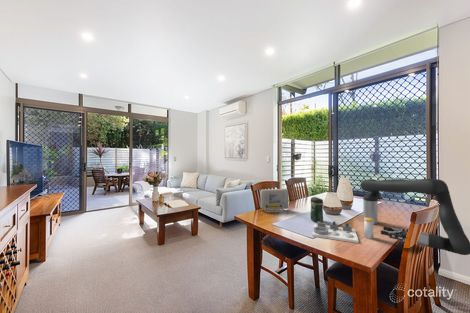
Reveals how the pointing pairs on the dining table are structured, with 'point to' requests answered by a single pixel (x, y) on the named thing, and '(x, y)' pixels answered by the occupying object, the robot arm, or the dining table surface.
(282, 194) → the network device
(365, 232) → the post
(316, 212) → the coffee jar
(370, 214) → the robot arm
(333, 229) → the panel
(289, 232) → the dining table surface
